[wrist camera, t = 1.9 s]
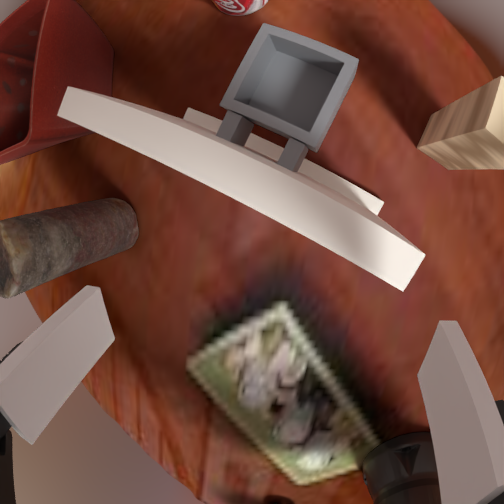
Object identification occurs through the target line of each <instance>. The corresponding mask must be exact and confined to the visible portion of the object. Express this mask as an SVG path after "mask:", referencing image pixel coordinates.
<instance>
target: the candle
mask: <svg viewBox="0 0 504 504" xmlns="http://www.w3.org/2000/svg"><path fill="white" fill-rule="evenodd" d="M138 235H139V229H138V223H137V218H136V214H135V212H134V210H133V209H132V207H131V206H130V205H129V204H127V203H126V202H125V201H123V200H120V199H117V198H106V199H100V200H94V201H88V202H83V203H78V204H73V205H69V206H64V207H59V208H54V209H49V210H44V211H40V212H35V213H30V214H26V215H21V216H17V217H13V218H8V219H4V220H1V221H0V297H3V298H11V297H13V296H16V295H18V294H20V293H23V292H25V291H27V290H30V289H32V288H34V287H36V286H39V285H41V284H43V283H45V282H48V281H50V280H52V279H55V278H57V277H59V276H62V275H64V274H67V273H69V272H71V271H74V270H76V269H79V268H81V267H84V266H86V265H89V264H91V263H94V262H96V261H99V260H102V259H104V258H107V257H109V256H112V255H115V254H117V253H119V252H122V251H125V250H127V249H129V248H131V247H132V246H133V245H134V244H135V242H136V240H137V238H138Z"/></svg>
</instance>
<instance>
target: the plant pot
mask: <svg viewBox="0 0 504 504" xmlns="http://www.w3.org/2000/svg"><path fill="white" fill-rule="evenodd" d="M113 59H114V50H113V48H112V46H111V44H110V43H109V41H108V39H107V38H106V36H105V35H104V33H103V32H102V31H101V29H100V28H99V26H98V25H97V24H96V23H95V21H94V20H93V19H92V18H91V17H90V15H89V14H88V13H87V12H86V11H85V10H84V9H83V8H82V7H81V6H80V5H79V4H78V3H77V2H76V1H75V0H27V1H26V2H25V3H24V4H22V5H21V6H20V7H19V8H18V9H16V10H15V11H14V12H13V13H12V14H11V15H9V16H8V17H7V18H6V19H5V20H4V21H3V22H2V23H1V24H0V165H1V164H4V163H7V162H10V161H12V160H15V159H18V158H21V157H24V156H26V155H29V154H32V153H34V152H37V151H40V150H42V149H45V148H48V147H50V146H53V145H56V144H59V143H62V142H65V141H68V140H71V139H75V138H78V137H81V136H85V135H88V134H92V133H96V132H94V131H92V130H89V129H87V128H85V127H83V126H80V125H78V124H76V123H74V122H71V121H69V120H67V119H64V118H62V117H60V116H57V114H58V111H59V109H60V106H61V103H62V100H63V98H64V95H65V92H66V90H67V87H68V86H69V87H74V88H78V89H82V90H86V91H90V92H94V93H98V94H102V95H106V96H109V97H112V75H113Z"/></svg>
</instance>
